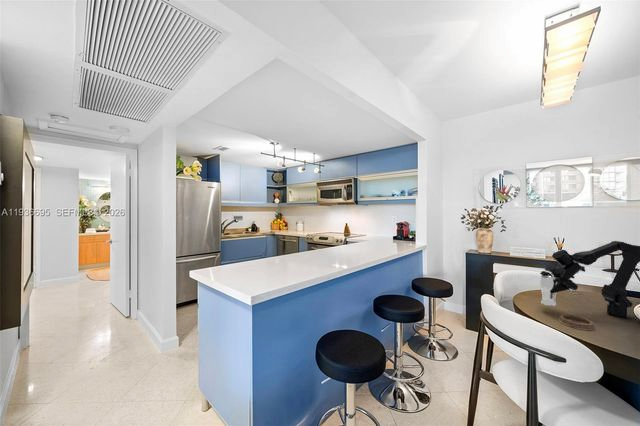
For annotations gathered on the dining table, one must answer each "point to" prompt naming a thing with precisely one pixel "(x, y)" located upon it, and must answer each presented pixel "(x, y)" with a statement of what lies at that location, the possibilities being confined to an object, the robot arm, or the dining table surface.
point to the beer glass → (548, 290)
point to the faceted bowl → (576, 322)
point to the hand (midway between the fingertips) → (545, 290)
